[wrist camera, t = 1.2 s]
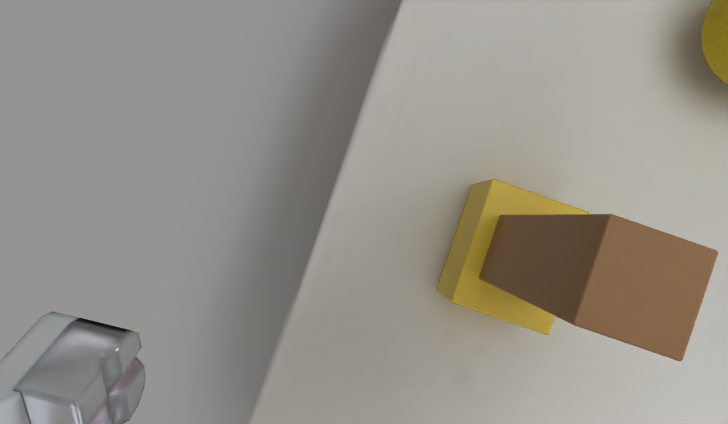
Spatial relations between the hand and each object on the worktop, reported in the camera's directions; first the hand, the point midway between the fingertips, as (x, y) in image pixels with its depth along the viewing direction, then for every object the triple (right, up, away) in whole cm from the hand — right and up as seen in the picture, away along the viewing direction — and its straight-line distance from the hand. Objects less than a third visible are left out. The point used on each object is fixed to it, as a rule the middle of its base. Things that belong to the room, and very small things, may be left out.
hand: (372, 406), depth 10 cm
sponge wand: (+6, +1, +18) cm, 18 cm away
